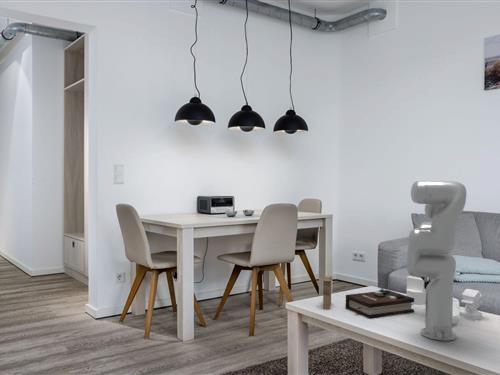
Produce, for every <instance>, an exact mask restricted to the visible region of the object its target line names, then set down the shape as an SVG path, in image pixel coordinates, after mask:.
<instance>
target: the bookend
mask: <svg viewBox="0 0 500 375" xmlns="http://www.w3.org/2000/svg"><path fill="white" fill-rule="evenodd" d="M332 280H333V276H329V275H325V276H324V278H323V294H322V296H323V298H322V305H323V306H322V309H323V310H330V309H331V306H332Z"/></svg>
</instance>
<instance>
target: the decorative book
mask: <svg viewBox="0 0 500 375" xmlns="http://www.w3.org/2000/svg"><path fill="white" fill-rule="evenodd" d="M412 302H414V298H411V297H408V296H407V295H404V294H402V293H399V292H395V291H392V290H388V289H383V288H380V289H379V290H377V291H369V292H361V293H360V292H359V293H352V294H345V309H346V310H348V311H350V312H353V313H356V314H357V315H360V316H362V317H365V318H367V319H377V318H384V317H391V316H398V315H405V314H413V313H415V309H414V308H412V306H414V304H411V303H412Z"/></svg>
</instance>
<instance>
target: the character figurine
mask: <svg viewBox="0 0 500 375" xmlns="http://www.w3.org/2000/svg"><path fill="white" fill-rule="evenodd" d="M461 298H462V299H461V300H460V302H461V303H463V304H465V306H464V309H461V310H459V316H460V317H461V319H462V318H463V319H466V320H471V321H481V320H482V319H483V313H482V312H481V311H478V308H480V306H481V305H482V303H483V302H482V300H481V299H482V298H484V296H483V294H482V293H481V292H480V290H475V289H470V288H466V289H464V291H463V292H462V293H461Z"/></svg>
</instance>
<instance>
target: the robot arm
mask: <svg viewBox="0 0 500 375" xmlns="http://www.w3.org/2000/svg"><path fill="white" fill-rule="evenodd" d="M465 186H466V185H464V184H463V183H460V182H458V181H453V180H451V181H450V180H444V181H443V180H417V181H414V183H413V184H412V185H411V189H410V198H411V201H412V202H413V203H415V204H417V205H418V204H419V205H424V214H425V215H426V216H427V217H428V218H429V219H430V220H431V221H423V222H421V223H420V225H419V226H418V227H414V228H413V229H412V230H411V231H410V232H409V234H408V238H407V239H408V240H407V241H408V242H407V252H406V253H407V254H406V270H407V274H409V276H412V277H418V278H422V279H423V280H424V289H426V304H425V319H424V327H423V328H421V329H420V334H421V335H422V336H423V337H425V338H428V339H430V340H436V341H442V342H443V341H444V342H449V341H455V340H456V339H457V337H458V336H457V333H456V332H454V331H453V314H454V313H453V312H454V311H453V307H454V301H453V300H454V279H455V275H456V268H457V262H456V261H457V260H456V259H455V257H454V256H453V255H451V254H450V253H452V251H453V250H454V248H455V243H456V235H457V227H458V221H459V220H460V217H461V215H462V213H463V211H464V209H465V205H466V203H467V188H466V187H465ZM428 278H429V279H428Z"/></svg>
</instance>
